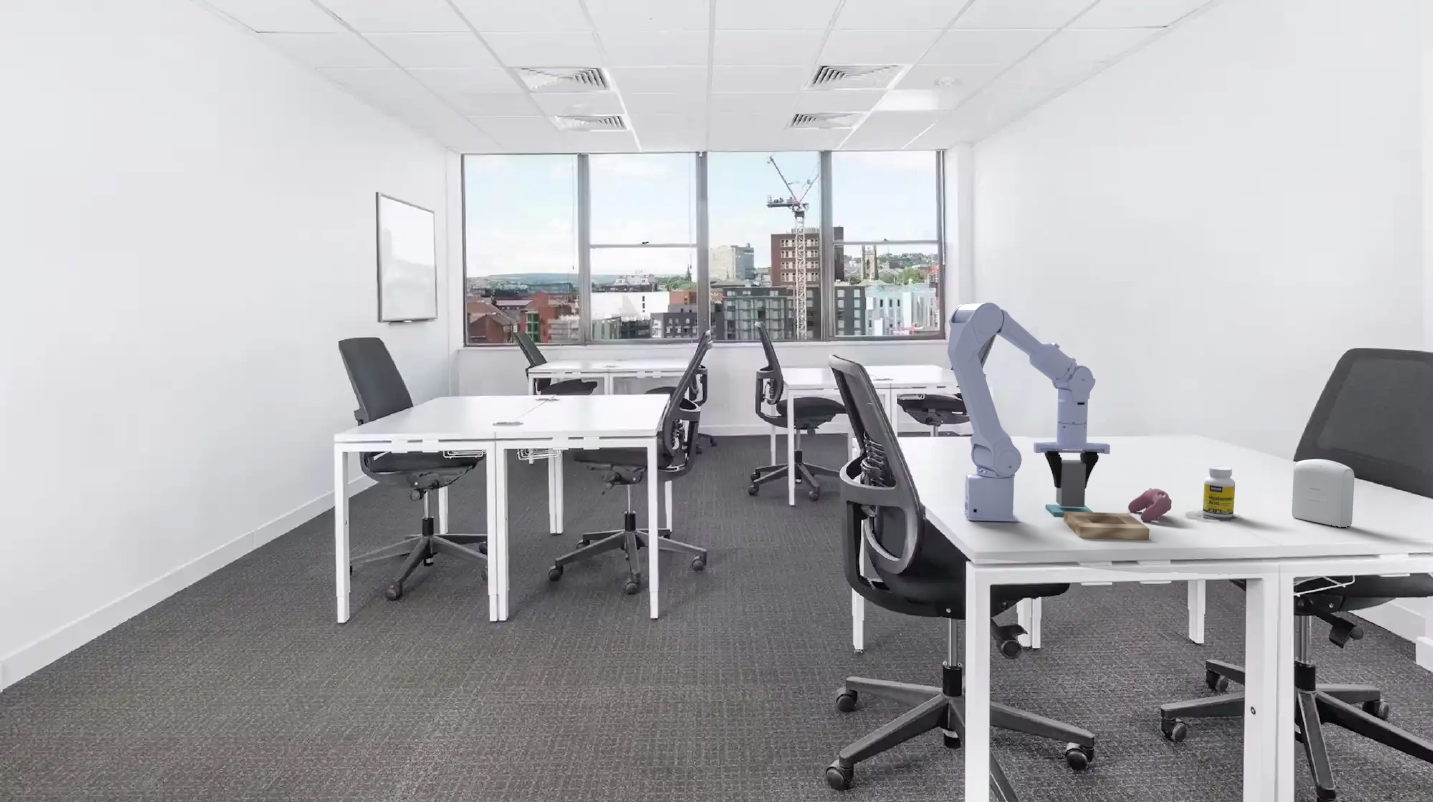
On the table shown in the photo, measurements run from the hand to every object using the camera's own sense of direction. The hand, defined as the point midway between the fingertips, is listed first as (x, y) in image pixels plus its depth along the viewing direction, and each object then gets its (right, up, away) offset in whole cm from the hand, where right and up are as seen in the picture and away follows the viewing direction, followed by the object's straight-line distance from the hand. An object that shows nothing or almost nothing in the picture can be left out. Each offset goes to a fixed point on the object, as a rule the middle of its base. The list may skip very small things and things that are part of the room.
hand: (1070, 487), depth 172 cm
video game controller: (+14, -6, -4) cm, 16 cm away
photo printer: (+45, -6, -10) cm, 46 cm away
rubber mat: (0, -5, +1) cm, 5 cm away
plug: (0, -4, 0) cm, 4 cm away
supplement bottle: (+29, -6, -3) cm, 30 cm away
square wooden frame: (+1, -7, -14) cm, 15 cm away
